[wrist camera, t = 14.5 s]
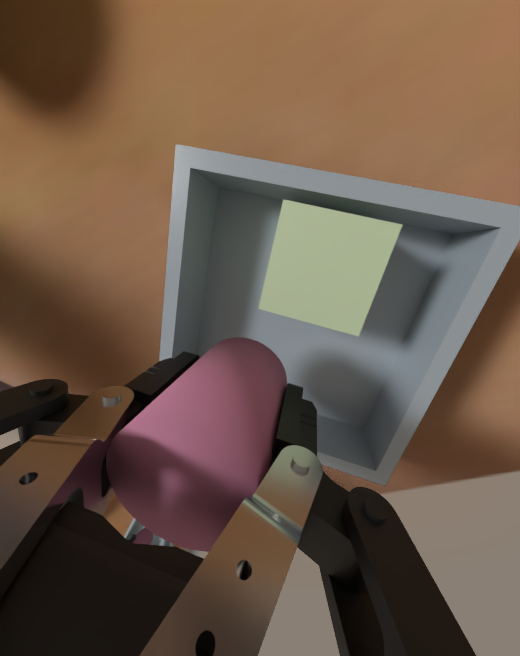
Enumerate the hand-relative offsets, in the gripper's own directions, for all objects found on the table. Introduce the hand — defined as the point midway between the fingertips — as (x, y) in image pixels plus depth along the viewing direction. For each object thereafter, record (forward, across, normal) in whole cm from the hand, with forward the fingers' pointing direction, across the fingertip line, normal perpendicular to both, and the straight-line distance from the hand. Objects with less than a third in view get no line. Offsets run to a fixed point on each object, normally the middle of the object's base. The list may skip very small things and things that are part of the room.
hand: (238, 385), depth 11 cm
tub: (+6, -2, -2) cm, 7 cm away
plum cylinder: (+1, 0, 0) cm, 1 cm away
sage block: (+6, -2, -6) cm, 9 cm away
